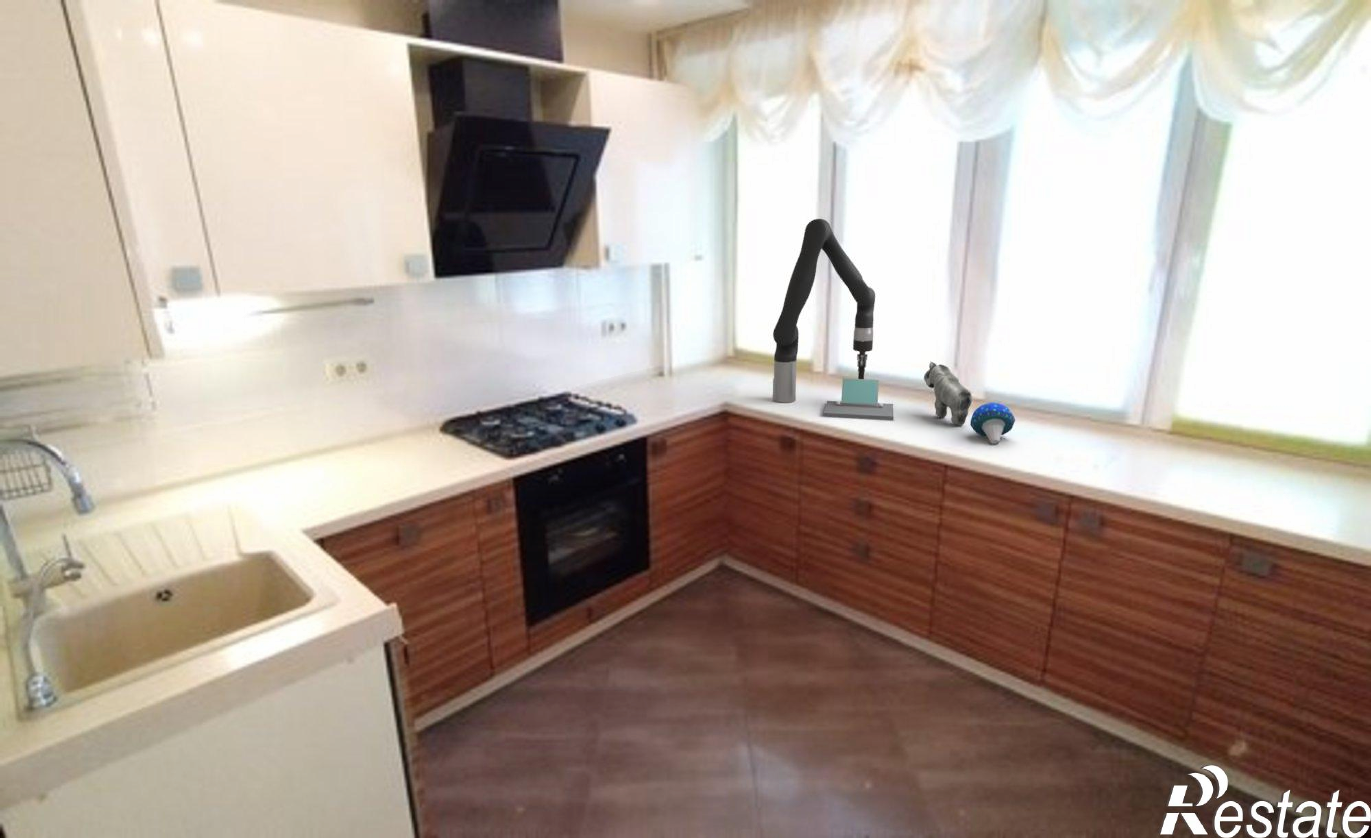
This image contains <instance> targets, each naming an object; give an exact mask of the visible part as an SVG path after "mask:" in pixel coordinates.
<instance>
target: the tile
mask: <svg viewBox="0 0 1371 838" xmlns="http://www.w3.org/2000/svg"><path fill="white" fill-rule="evenodd" d="M879 383H880V379H869V378H867V379H865V378H864V379H858V378H842V385H841V389H842V390H841V400H840V401H841V403H843V404H863V405H878V403H879V390H880V389H879V385H880V384H879Z"/></svg>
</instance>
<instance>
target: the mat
mask: <svg viewBox="0 0 1371 838" xmlns="http://www.w3.org/2000/svg"><path fill="white" fill-rule="evenodd" d="M823 417H824V418H826V417H827V418H844V419H845V418H846V419H860V420H863V419H864V420H878V421H879V420H880V421H894V417H895V415H894V403H885V402H884V403H881V402H878V405H863V404H843V403H841V400H826V404H825V408H824V411H823Z"/></svg>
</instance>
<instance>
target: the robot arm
mask: <svg viewBox="0 0 1371 838" xmlns="http://www.w3.org/2000/svg"><path fill="white" fill-rule="evenodd" d="M804 229H805V230H804V232H803V233H804V234H803V239H802V244H801V248H800V251H799V255H798V257H797V261H796V263H795V265H794V268H793V270H792V273H791V277H790V280H789V282H788V285H787V290H786V293H785V297H784V302H783V305H782V310H781V312H780V315H779V317H778V319H777V322H776V325H775V327H774V328H773V331H772V336H773V341H774V342H775V344H776V347H775V352H774V356H773V357H774V358H773V361H774V362H773V365H774V366H773V379H772V402H777V403H784V404H785V403H787V404H788V403H793V402H795V401H796V398H797V396H796V395H797V360H798V359H797V357H798V352H799V337H800V336H799V334H800V333H799V329H798V326H797V325H798V321H799V317H800V315H801V313H802V311H803V309H804V307H805V305H806V303H807V301H808V299H809V296H810V294H811V292H812V289H813V286H814V282H815V279H816V273H817V267H818V266H817V265H818V259H819V257H820V253H821V251H823V252H824V254H826V256H827V258H828V260H829V261H830V263H831V265H832V267H833V268H834V270H835V272H836V274H837V275H838V277H839V278H840V279H841V281H842V283H844V285H845V286H846V287H847V289H848V291H849V293H850V294H851V295H852V297H853V299H854V301H855V302H856V314H855V317H854V330H853V342H852V349H853V351H855V352H859V353H857V357H856V360H857V363H856V364H857V367H858V369H857V372H858V374H857V375H858V377H857V379H865V372H866V369H865V368H866V367H867V360H868V353H866V352H871V351H873V348H874V347H873V345H874V310H875V302H876V292H875V290H874V289H873V288H872V287H871V286H868V285H867V283H866V281H865V280H864V278H863V276H862V273H861V272H860V271H859V270H858V268H857V267H856V265H855V264H854V262H853V261H852V260H851V258H850V257H849V256H848V255H847V252H845V251H844V249H843V247H842V246H841V245H840V243H839V242H838V240H837V238H836V236H835V234H834V232H833V229H832V227H831V225H830V223H829V222H828V221H827V220H825V219H824V218H815V219H812V220H811V221H809V222H808V223H807V225H806V227H805V228H804Z"/></svg>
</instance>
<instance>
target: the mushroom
mask: <svg viewBox="0 0 1371 838" xmlns="http://www.w3.org/2000/svg"><path fill="white" fill-rule="evenodd" d="M1015 422H1016V418H1015V416H1014V414H1013V413H1012V411H1011V409H1010V408H1009V407H1007V406H1006V405H1004V404H1002V403H999V402H988V403H985V404H981V405H980V406H979V407H977V408H976V409H974V411H973V413H972V416H971V419H970V425H969V426H970V427H971V428H972V429H973V431H974V433H976V434H978V435H980V436H982V437H987V438H988V439H989V442H990V444H991V445H998V444H999V443H1000V439H1001V437H1002V436H1003V435H1004V436H1005V435H1006V434H1007V433H1009V432H1010V431H1012V429H1013V427H1014V424H1015Z"/></svg>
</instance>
